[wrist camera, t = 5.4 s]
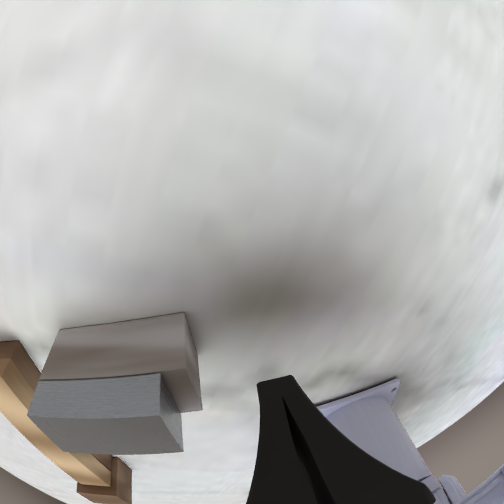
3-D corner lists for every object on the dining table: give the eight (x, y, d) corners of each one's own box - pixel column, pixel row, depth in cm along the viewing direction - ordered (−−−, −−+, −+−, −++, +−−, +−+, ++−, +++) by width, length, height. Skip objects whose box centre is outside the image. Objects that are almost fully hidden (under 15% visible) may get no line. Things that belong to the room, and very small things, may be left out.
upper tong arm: (111, 472, 18) (110, 486, 16) (82, 470, 17) (80, 483, 16) (10, 357, 11) (1, 376, 10) (-20, 358, 11) (-29, 375, 10)
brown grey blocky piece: (236, 461, 22) (244, 499, 18) (95, 468, 20) (93, 502, 17) (184, 312, 14) (185, 375, 10) (-20, 336, 12) (-45, 380, 9)
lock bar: (181, 414, 12) (183, 451, 10) (69, 419, 11) (63, 451, 9) (160, 373, 10) (159, 415, 9) (38, 381, 10) (26, 415, 8)
